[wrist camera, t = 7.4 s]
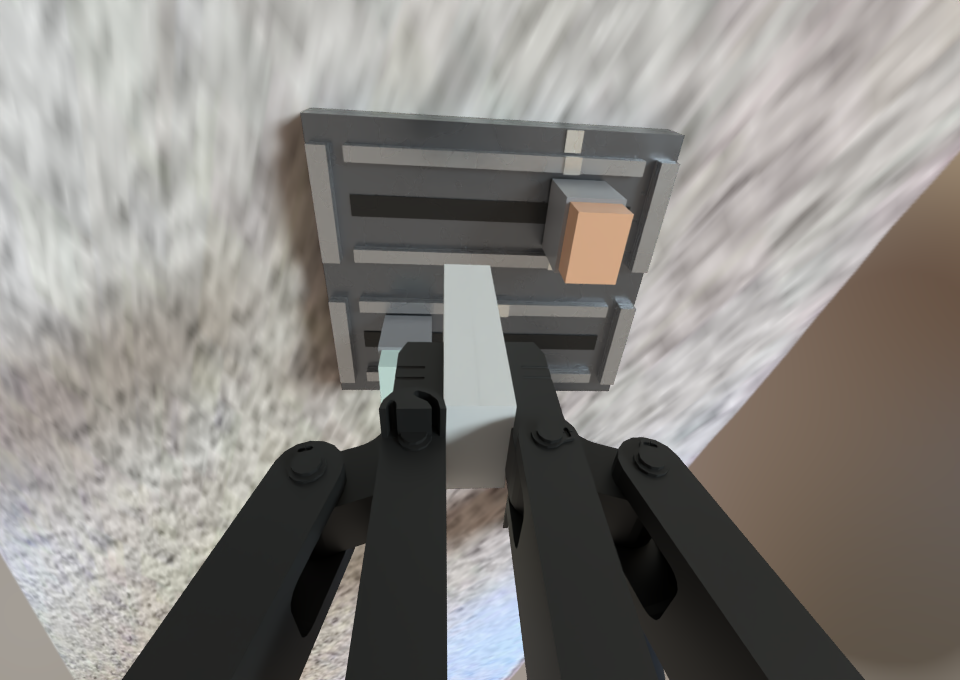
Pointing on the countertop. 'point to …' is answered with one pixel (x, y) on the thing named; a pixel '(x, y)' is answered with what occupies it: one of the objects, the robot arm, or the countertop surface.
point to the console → (476, 228)
